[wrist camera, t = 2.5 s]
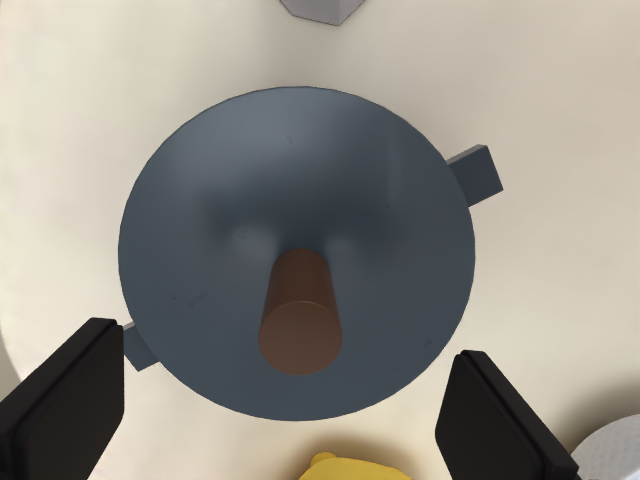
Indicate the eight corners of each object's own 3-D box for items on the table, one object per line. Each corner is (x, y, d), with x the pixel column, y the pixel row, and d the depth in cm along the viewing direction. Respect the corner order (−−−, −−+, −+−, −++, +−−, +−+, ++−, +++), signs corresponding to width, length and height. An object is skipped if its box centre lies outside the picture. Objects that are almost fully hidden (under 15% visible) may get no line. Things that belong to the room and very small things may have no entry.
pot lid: (54, 198, 18) (-87, 241, 11) (382, 14, 16) (436, -58, 10) (241, 449, 22) (217, 581, 16) (510, 325, 21) (604, 416, 14)
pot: (108, 196, 26) (13, 233, 17) (390, 41, 24) (440, -5, 15) (229, 369, 30) (201, 467, 22) (476, 250, 28) (553, 305, 20)
